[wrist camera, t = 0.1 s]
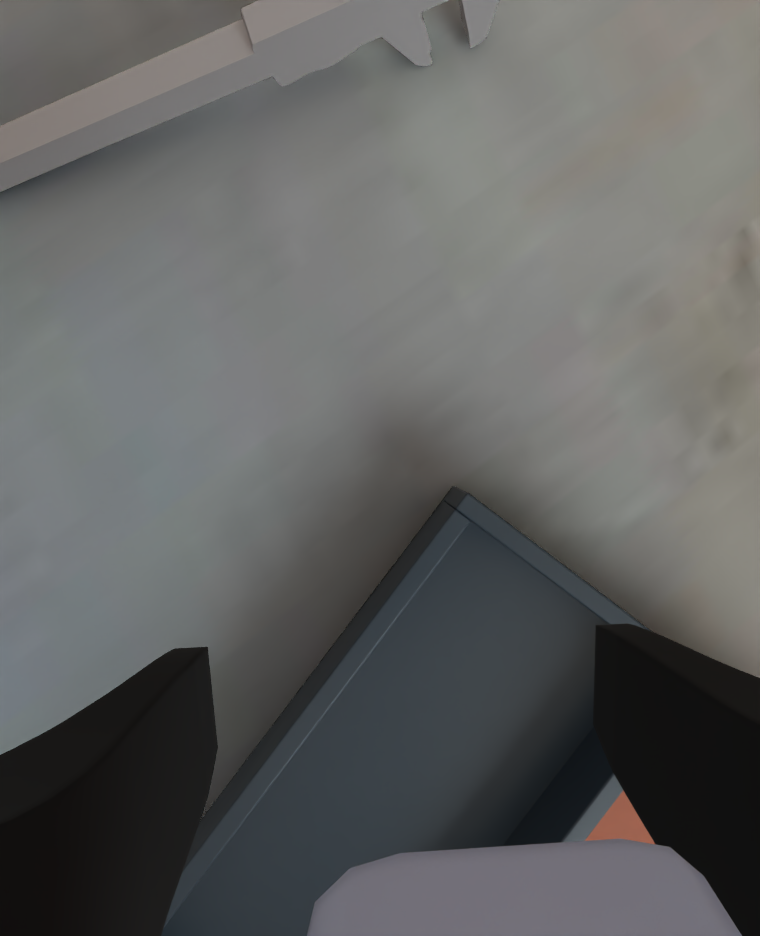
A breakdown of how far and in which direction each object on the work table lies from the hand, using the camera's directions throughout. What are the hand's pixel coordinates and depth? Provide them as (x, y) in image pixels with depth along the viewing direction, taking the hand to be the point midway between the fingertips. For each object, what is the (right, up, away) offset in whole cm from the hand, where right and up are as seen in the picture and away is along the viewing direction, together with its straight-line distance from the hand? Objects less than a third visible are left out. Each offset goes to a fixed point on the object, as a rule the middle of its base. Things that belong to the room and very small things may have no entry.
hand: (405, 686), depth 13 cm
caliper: (-7, +15, +10) cm, 19 cm away
